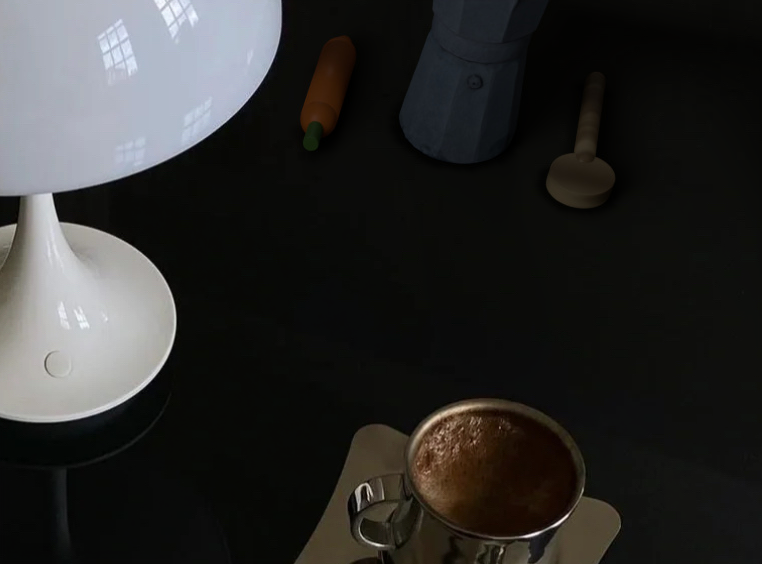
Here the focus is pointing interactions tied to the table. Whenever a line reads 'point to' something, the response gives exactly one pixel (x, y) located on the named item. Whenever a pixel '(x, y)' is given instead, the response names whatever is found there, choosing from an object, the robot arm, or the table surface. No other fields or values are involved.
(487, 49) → the moka pot
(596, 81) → the spoon
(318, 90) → the carrot
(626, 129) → the table surface
